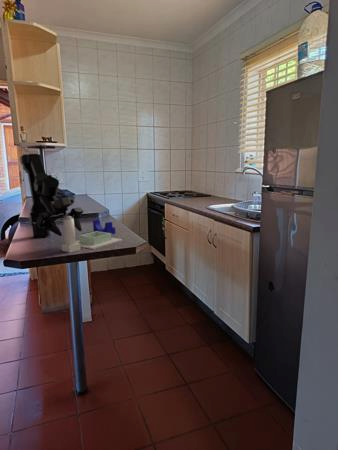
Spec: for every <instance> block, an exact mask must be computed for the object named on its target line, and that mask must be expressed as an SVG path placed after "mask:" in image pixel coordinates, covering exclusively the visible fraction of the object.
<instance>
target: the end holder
mask: <svg viewBox="0 0 338 450" xmlns="http://www.w3.org/2000/svg"><path fill="white" fill-rule="evenodd" d="M78 238H79V239H78V240H76V243H80V248H86V249H90V250H97V249H99V248H103V247H106V246H110V245H113V244H116V243H121V242H122V241H123V239H122V238H116V237H112V234H111V233H105V232H99V231H95V232H94V231H91V232H87V233H84V234H78Z"/></svg>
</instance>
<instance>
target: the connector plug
mask: <svg viewBox="0 0 338 450" xmlns="http://www.w3.org/2000/svg"><path fill="white" fill-rule="evenodd" d="M62 222H63V232H64V242H65V243H63V244H61V250H62V251H63V252H67V253H72V252H75V251H79V250H81V247H80V243H76V241H77V240H76V230H75V229H76V227H75V226H74V218H72V217H71V216H66V217H65V219H62Z"/></svg>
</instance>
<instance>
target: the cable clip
mask: <svg viewBox="0 0 338 450" xmlns="http://www.w3.org/2000/svg"><path fill="white" fill-rule="evenodd" d="M104 223H105V225H104V228H103V226H102V225H101V222H100V219H94V220H92V225H93V226H92V229H93V232H95V231H99V232H105V233H111V235H115V234H116V227H113V222H112V221H107V222H104Z"/></svg>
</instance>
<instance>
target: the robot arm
mask: <svg viewBox="0 0 338 450" xmlns="http://www.w3.org/2000/svg"><path fill="white" fill-rule="evenodd" d="M19 159H20V160H19V161H20V164H21V165H22V169H23V170H24V172H26V174H27V177H28V184H29V190H30V195H31V201H32V205H31V207H30V210H29V211H30V212H29V217H28V222H29V226H32V227H31V228H32V235H33V236H31V239H39V238H40V239H43V238H44V239H46V238H47V237H49V236H50V235H51V233H50V232H52V233H54V234H55V235H57V236H60V237H62V235H63V234H62V232H61V230H60V228H59V227H58V225H57V224H56V222H55V221H58V220H60V221H61V220H63V219H65V217H66V216H71V217H72V218H74V227H75V229H76V230H77V231H79V232H82V225H81V219H80V218H81V216H82V215H83V213H84V210H83V209H82V208H81V207H74V208H71V210H70V211H69V212H68V210H69V207H70V206H72V205H73V204H74V203H75V200H74V198H73V196H71V195H67V196H65V197H60V198H57V194H58V190H59V186H60V181H59V180H58V179H57V178H56V177H53V176H52V174H47V173H46V171H45V168H44V166H43V165H44V164H43V161H42V155H41V154H39V153H28V154H27V153H26V154H25V153H24V154H22V155H21V156H19Z"/></svg>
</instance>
